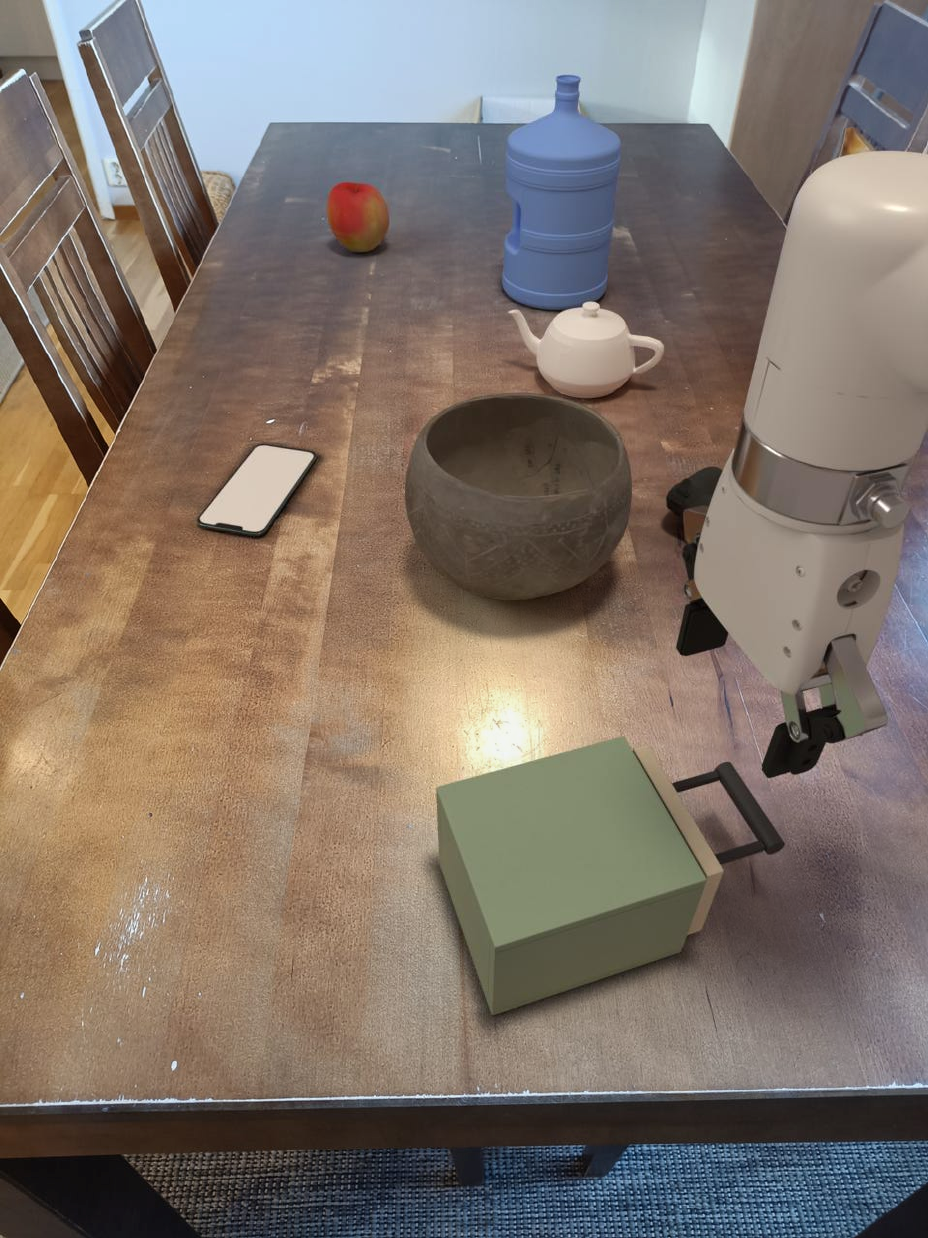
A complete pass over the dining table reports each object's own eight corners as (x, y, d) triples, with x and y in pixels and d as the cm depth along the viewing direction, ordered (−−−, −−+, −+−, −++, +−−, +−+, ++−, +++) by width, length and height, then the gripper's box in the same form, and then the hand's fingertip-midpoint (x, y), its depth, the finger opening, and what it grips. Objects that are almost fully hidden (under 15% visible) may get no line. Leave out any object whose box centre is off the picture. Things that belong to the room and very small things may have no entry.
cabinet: (609, 813, 69) (624, 735, 62) (681, 952, 61) (707, 879, 54) (439, 863, 66) (435, 786, 59) (491, 1016, 58) (494, 947, 51)
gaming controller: (688, 508, 100) (639, 498, 93) (715, 462, 98) (666, 448, 90) (810, 589, 90) (766, 585, 83) (843, 540, 88) (800, 532, 81)
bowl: (550, 484, 99) (560, 359, 89) (662, 598, 86) (689, 467, 75) (376, 539, 92) (364, 411, 82) (469, 671, 79) (469, 539, 69)
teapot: (491, 389, 114) (492, 312, 107) (520, 345, 122) (523, 272, 115) (646, 417, 109) (659, 339, 102) (666, 370, 117) (679, 294, 110)
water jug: (622, 281, 137) (648, 71, 117) (577, 322, 127) (597, 101, 108) (532, 260, 143) (542, 57, 123) (482, 297, 133) (485, 83, 113)
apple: (334, 263, 142) (327, 197, 135) (328, 240, 149) (321, 176, 142) (394, 258, 143) (390, 192, 136) (386, 235, 150) (382, 172, 143)
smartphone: (257, 445, 105) (193, 527, 94) (257, 442, 105) (192, 523, 93) (320, 455, 103) (262, 539, 92) (320, 451, 103) (261, 535, 92)
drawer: (706, 786, 69) (727, 721, 64) (781, 904, 62) (811, 843, 57) (478, 853, 65) (478, 790, 60) (529, 988, 58) (536, 931, 53)
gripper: (1028, 557, 36) (889, 804, 48) (784, 358, 47) (721, 596, 59) (868, 599, 34) (765, 844, 46) (656, 381, 46) (619, 621, 58)
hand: (741, 704), depth 53 cm, fingers open, 9 cm apart
